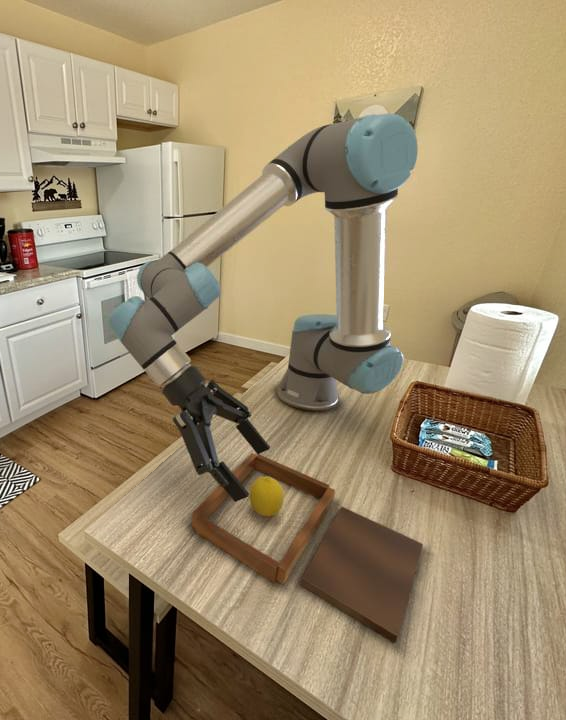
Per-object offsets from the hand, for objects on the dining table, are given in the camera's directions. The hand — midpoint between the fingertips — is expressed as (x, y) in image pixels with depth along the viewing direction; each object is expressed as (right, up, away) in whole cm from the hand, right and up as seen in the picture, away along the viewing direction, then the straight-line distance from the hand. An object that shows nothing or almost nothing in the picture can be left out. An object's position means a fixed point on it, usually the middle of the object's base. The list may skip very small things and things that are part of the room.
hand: (254, 472), depth 66 cm
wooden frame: (+2, -8, +2) cm, 9 cm away
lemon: (+2, -8, +2) cm, 9 cm away
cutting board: (+14, -12, -8) cm, 20 cm away
